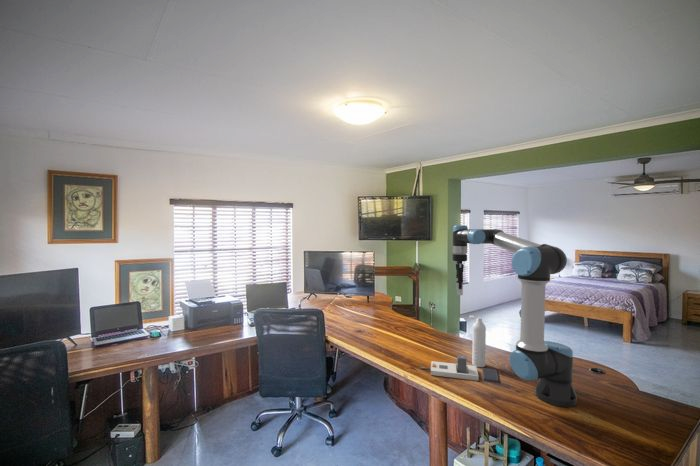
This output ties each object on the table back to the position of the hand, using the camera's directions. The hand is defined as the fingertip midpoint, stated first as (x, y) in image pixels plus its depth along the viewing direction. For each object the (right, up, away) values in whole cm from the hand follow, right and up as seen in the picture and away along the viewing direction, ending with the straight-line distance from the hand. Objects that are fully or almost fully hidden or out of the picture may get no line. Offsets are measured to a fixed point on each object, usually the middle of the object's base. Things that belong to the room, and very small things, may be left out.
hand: (459, 292), depth 184 cm
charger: (-4, -37, -17) cm, 41 cm away
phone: (+9, -38, -19) cm, 43 cm away
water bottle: (+7, -37, -5) cm, 38 cm away
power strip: (-11, -37, -15) cm, 41 cm away
